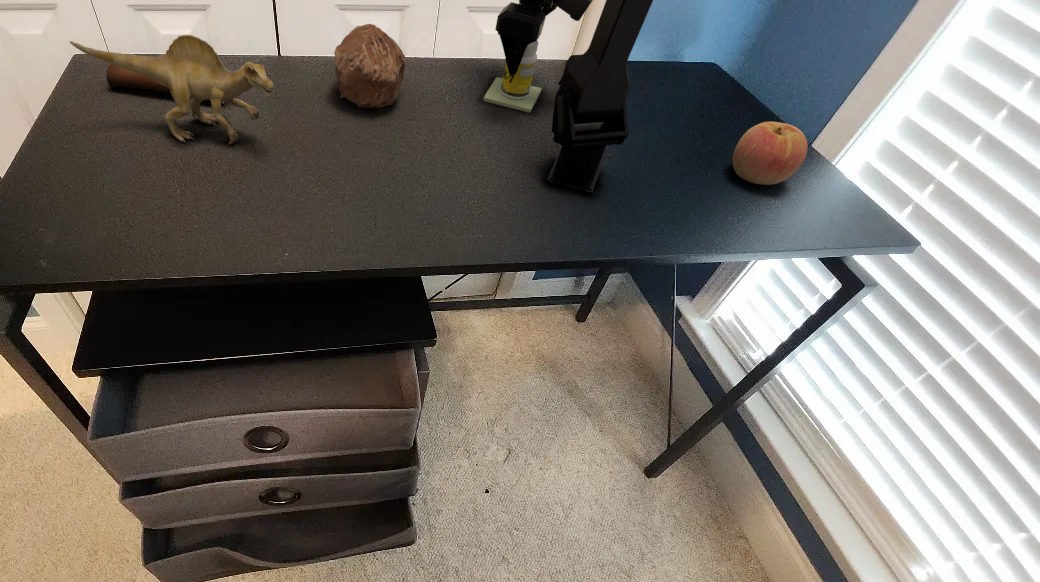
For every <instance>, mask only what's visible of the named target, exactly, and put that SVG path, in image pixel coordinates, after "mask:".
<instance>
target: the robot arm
mask: <svg viewBox="0 0 1040 582" xmlns="http://www.w3.org/2000/svg"><path fill="white" fill-rule="evenodd" d="M593 1H594V0H518V3H517V2H513V1H512V2H510V3H508V4H507V5H506V6H504V7H503V8H502V9H501V11H500V12H499V14H498V15H497V19H496V24H495V31H496V32H497V35H499V39H500V42H501V46H502V49H503V54H504V58H505V64H506V63H507V67H508V72H509V74H512V75H516V73H517V71H518V68H519V66H520V63H521V61H522V58H523V56H524V54H525V51H526V49H527V46H528V45H529V44H531V43H533V42H536V41H538V40H539V39H540V37H541V34H542V32H543V28H544V25H545V21H546V18H547V16H548V15H550V14H551V13H553V12H555V10H556V9H557V8H559V9H560V10H562V11H563V12H564V13H566V14H567V15H569V18H570V19H572V20H573V21H575V22H579V21H580V20H581V19H582V17H584V16H583V15H584V14H585V13H586V11H587V10H588V9H589V7H590V6H591V4H592V2H593ZM653 2H654V0H605V2H604V5H603V8H602V11H601V14H600V16H599V18H598V22H597V25H596V26H595V30H594V33H593V35H592V38H591V41H590V43H589V45H588V48H587V50H586V51H584V53H582V54H571V55H570V56H569V57H568V59H567V60H566V61H565V65H564V70H563V73H562V76H561V77H560V79H559V81H558V82H557V83H558V84H557V85H558V86H559V87H558V90H557V91H556V93H555V96H554V103H553V113H552V123H551V133H552V134H553V138H552V141H553V142H554V143H556V144H558V145H560V146H561V147H560V150H559V153H558V156H557V157H556V158H555V159H554V162H553V164H552V167H551V169H550V171H549V174H548V177H547V178H546V182H547V184H550V185H553V186H558V187H560V188H565V189H567V190H571V191H575V192H579V193H582V194H585V195H592V194H593V192H594V189H595V186H596V182H597V180H598V176H599V174H600V168H599V166H600V163H601V161H602V158H603V156H604V153H605V150H606V147H607V146H612V145H616V146H621V145H622V144H623V143H624V142H625V140H626V139H627V138H628V136H629V134H630V133H629V121H628V112H627V111H628V109H627V96H628V92H629V89H630V87H631V82H630V77H629V69H628V60H629V58H630V56H631V53H632V51H633V49H634V46H635V44H636V41H637V39H638V36H639V34H640V32H641V30H642V27H643V25H644V23H645V20H646V18H647V16H648V13H649V12H650V9H651V6H652V5H653Z"/></svg>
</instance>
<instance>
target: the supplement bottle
mask: <svg viewBox="0 0 1040 582" xmlns="http://www.w3.org/2000/svg"><path fill="white" fill-rule="evenodd" d="M538 47H539V41H538V40H537V41H536V42H533V43H531V44H529V45H528V46H527V49H526V51H525V54H524V56H523V58H522V61H521V63H520V66H519V68H518V71H517V73H516V75H512V74H509V72H508V67H507V63H506V62H505V64H504V70H503V75H502V84H501V93H502V94H503V95H504V96H506V97H508V98H511V99H523V98H526V97H527V96H528V94H529V90H530V86H532V82H533V79H534V73H535V70H536V66H537V62H538V56H537V55H538V54H537V51H538Z"/></svg>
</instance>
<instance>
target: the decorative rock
mask: <svg viewBox="0 0 1040 582" xmlns="http://www.w3.org/2000/svg"><path fill="white" fill-rule="evenodd" d="M333 54H334V67H335V68H334V74H335V75H334V76H335V78H336V80H337V83H338V89H339V92H340V99H343V98H345V99H346V100H348V101H349V102H352V103H353V104H355V105H356V106H357V107H358V108H365V109H369V108H378V109H379V108H383V107H387V106H391V105H393V104H394V103H395V101H396V100H397V98H398V96H399V93H400V89H401V86H402V82H403V79H404V74H405V73H404V72H405V68H406V66H407V58H406V55H405V54H404V52H403V50H402V49H401V48H400V46H399V44H398V43H397V42H396V40H394V39H393V38H392V37H390V36H389V35H388V34H387V32H385V31H383V30H382V28H380V27H378V26H377V25H376V24H372V23H366V24H363V25H356V27H354V28H353V29H351V31H350V32H349V33H348V34H347V35H346V36H345V37H344V38H343V39H342V41H341V42H340V44H338V45H337V46H336V47H335V49H334V52H333Z"/></svg>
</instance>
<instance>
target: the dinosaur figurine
mask: <svg viewBox="0 0 1040 582" xmlns="http://www.w3.org/2000/svg"><path fill="white" fill-rule="evenodd" d="M69 44H70V45H72V46H73V47H74V48H75V49H77V50H79V51H80V52H81V53H83V54H86V55H88V56H91V57H93V58H96V59H97V60H100V61H103V62H106V63H108V64H114V65H116V66H119V67H121V68H124V69H127V70H131V71H133V72H135V73H138V74H140V75H143V76H145V77H148V78H150V79H152V80H154V81H156V82H158V83H160V84H161V85H163V86H166V87H169V89H170V92H171V93H170V94H171V97H172V99H173V100H174V102H175V106H174V107H172V109H170V110H169V111H168V112H167V113H166V114H165V115H164V120H165V122H166V124H167V126H168V127H169V130H170V132H171V133H172V136H174V138H176V139H177V140H178V141H180V142H182V143H184V144H187V141H186V140H185V139H187V140H191V141H193V140H195V138H194V136H195V134H194V133H193V132H191V131H189V130H184V129H182V128H180V127H179V126H178V123H177V121H176V120H178V119H180V118H182V117H185V116H188V115H189V114H190V113H191V116H192V117H193V118H196V117H197V119H198V120H199V121H200V122H201V123H203V124H207V125H216V123H219V124H220V126H222V128H224V130H226V132H227V134H228V136H229V137H228V138H229V139H230V140H229V142H228V143H227V144H228V145H232V144H234V143H236V142H238V139H239V135H238V133H237V130H235V129H234V128H233V127H231V126H230V125H229V123H228V122H227V120H226V119H225V117H224V116H223V115H222V114H221V108H222V103H221V102H222V101H223V102H225V103H226V102H229V104H231V105H232V106H234V107H236V108H241V109H245V110H246V111H247V112H248V114H249V116H250V118H251V120H255V121H257V120H258V119H259V118H260V111H259V110H258V109H257V108H256V107H255V106H253V105H250V104H248V103H247V102H245V101H244V100H241V99H238V98H236V97H238V96H240V95H242V94H243V93H245V92H248V91H250V90H251V89H253V88H256V89H258V91H260V92H262V93H263V94H264V96H265V97H266V98H271V97H272V96H273V93H272V91H274V87H275V86H274V83H273V81H272V80H271V79H270V78H269V77H268V76H267V74H266V70H265V66H264V65H263V64H262V63H254V62H252V61H247V62H245V63H244V65H242V66H241V67H240V68H239V69H236V70H228V69H227V68H226V67H225V66H224V64H223V61H222V60H220V56H219V55H218V53H217V52H216V51H215V48H214V47H213V46H212V45H211V44H209V43H208V42H207V41H206V40H204V39H202V38H200V37H197V36H195V35H193V34H183V35H177V38H175V39H173V41H172V42H171V43H170V44H169V46H168V49H167V50H165V53H164V54H163V55H157V56H150V55H149V56H148V55H144V56H142V55H138V54H137V55H136V54H135V55H134V54H130V53H122V52H113V51H108V50H107V51H106V50H101V49H95V48H92V47H88V46H84V45H83V44H80V43H78V42H75V41H73V40H70V41H69ZM205 100H207V101H208V100H210V105H211V109H212V113H207V112H204V111H203V109H202V108H201V103H202V102H203V101H205Z"/></svg>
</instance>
